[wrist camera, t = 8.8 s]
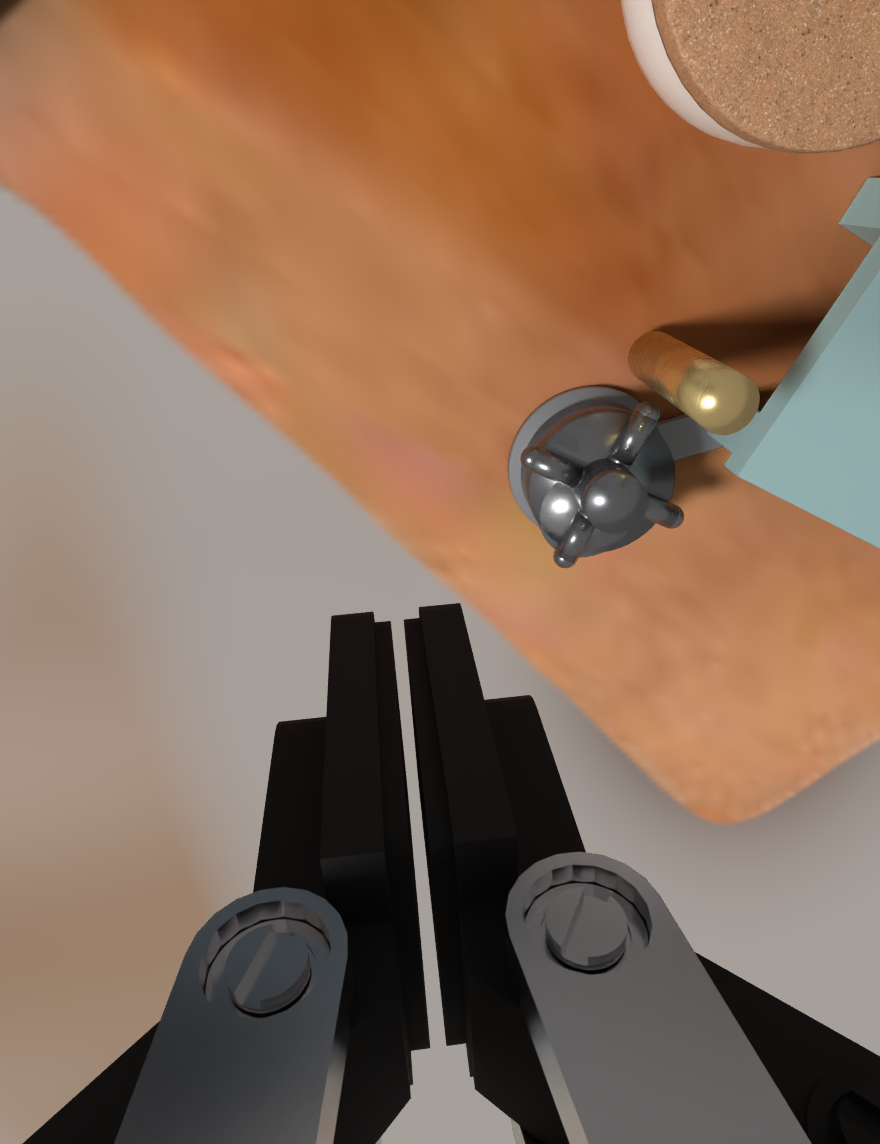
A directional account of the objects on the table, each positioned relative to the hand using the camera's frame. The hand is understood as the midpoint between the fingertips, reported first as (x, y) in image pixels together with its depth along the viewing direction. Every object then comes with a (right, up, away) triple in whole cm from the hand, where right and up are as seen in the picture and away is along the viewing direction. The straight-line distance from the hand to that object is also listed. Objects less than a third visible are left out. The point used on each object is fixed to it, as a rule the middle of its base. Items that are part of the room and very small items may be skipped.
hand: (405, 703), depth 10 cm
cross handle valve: (+7, +7, +22) cm, 25 cm away
